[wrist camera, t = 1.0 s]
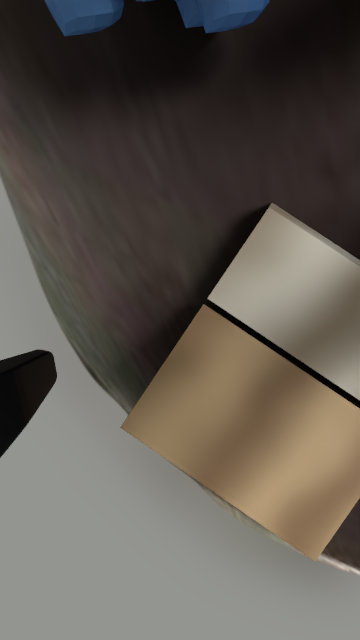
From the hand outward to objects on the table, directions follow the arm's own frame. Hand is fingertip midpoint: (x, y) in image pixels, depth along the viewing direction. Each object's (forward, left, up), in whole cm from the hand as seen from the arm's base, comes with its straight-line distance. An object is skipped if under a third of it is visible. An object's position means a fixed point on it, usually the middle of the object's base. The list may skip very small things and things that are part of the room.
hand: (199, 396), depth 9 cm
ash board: (-6, 0, -13) cm, 14 cm away
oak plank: (-6, +8, -11) cm, 15 cm away
